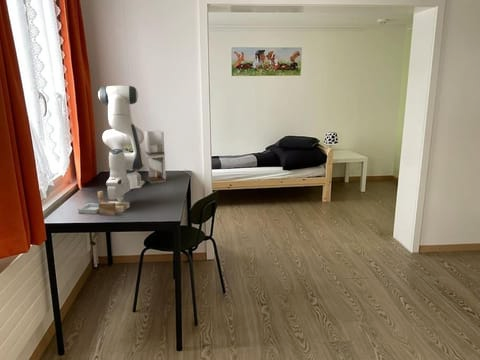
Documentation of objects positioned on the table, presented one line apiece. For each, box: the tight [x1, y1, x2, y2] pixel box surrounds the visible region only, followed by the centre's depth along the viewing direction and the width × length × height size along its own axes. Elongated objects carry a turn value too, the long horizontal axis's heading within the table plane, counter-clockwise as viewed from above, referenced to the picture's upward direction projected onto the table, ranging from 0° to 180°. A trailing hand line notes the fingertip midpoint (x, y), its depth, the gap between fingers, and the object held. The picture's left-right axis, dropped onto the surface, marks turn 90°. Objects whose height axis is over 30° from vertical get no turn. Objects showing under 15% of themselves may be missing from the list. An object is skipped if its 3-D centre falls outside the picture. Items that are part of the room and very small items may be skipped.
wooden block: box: [97, 201, 117, 216], centre depth 196 cm, size 3×8×6 cm, turn 82°
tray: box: [77, 202, 99, 215], centre depth 202 cm, size 10×10×2 cm
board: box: [108, 200, 131, 213], centre depth 205 cm, size 10×12×3 cm
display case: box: [144, 130, 167, 184], centre depth 264 cm, size 11×11×35 cm
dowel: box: [97, 190, 105, 204], centre depth 211 cm, size 3×3×8 cm
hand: (120, 202), depth 211 cm, fingers closed
